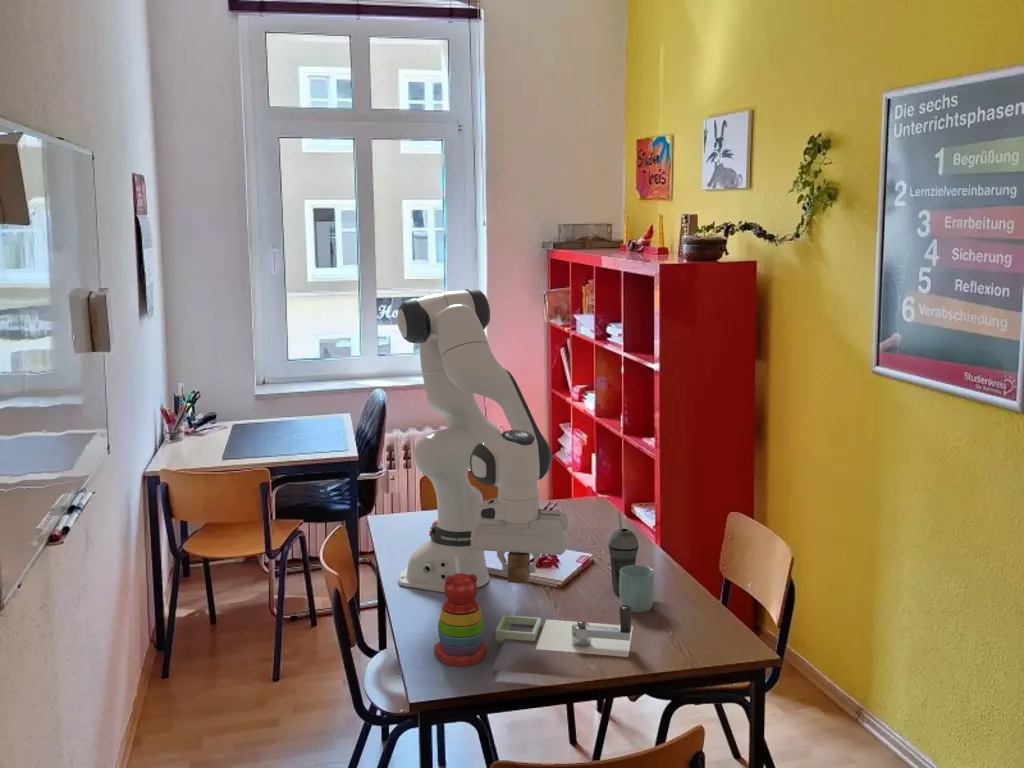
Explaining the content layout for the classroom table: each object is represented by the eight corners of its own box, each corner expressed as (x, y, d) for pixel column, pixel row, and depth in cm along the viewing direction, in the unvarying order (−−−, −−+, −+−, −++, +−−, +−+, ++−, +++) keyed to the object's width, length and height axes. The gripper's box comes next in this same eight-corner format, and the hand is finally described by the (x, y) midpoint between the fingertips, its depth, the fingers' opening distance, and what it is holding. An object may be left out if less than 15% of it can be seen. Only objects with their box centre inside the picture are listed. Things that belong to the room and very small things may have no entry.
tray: (495, 644, 205) (495, 630, 205) (503, 627, 214) (503, 614, 213) (534, 647, 204) (534, 634, 203) (540, 630, 212) (541, 617, 212)
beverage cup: (636, 598, 230) (638, 517, 226) (605, 596, 231) (607, 515, 228) (638, 586, 237) (640, 507, 233) (608, 584, 238) (610, 506, 235)
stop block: (507, 582, 205) (507, 554, 204) (511, 575, 208) (511, 548, 207) (526, 583, 204) (526, 556, 203) (529, 576, 208) (529, 549, 207)
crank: (570, 645, 200) (571, 607, 199) (573, 637, 204) (573, 599, 203) (630, 650, 198) (630, 611, 197) (631, 642, 202) (632, 604, 201)
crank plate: (535, 655, 200) (535, 648, 200) (546, 625, 215) (546, 619, 214) (628, 663, 197) (628, 656, 196) (632, 632, 211) (633, 625, 211)
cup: (612, 608, 224) (613, 567, 222) (642, 603, 227) (643, 562, 225) (629, 621, 217) (630, 579, 215) (659, 616, 220) (661, 574, 218)
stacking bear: (484, 644, 206) (484, 563, 202) (490, 665, 196) (489, 582, 193) (433, 647, 204) (432, 566, 201) (436, 669, 194) (435, 584, 191)
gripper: (569, 506, 205) (569, 569, 207) (475, 501, 209) (475, 563, 211) (565, 515, 199) (565, 579, 201) (468, 510, 202) (469, 573, 205)
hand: (518, 571), depth 206 cm, fingers closed on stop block, 4 cm apart
